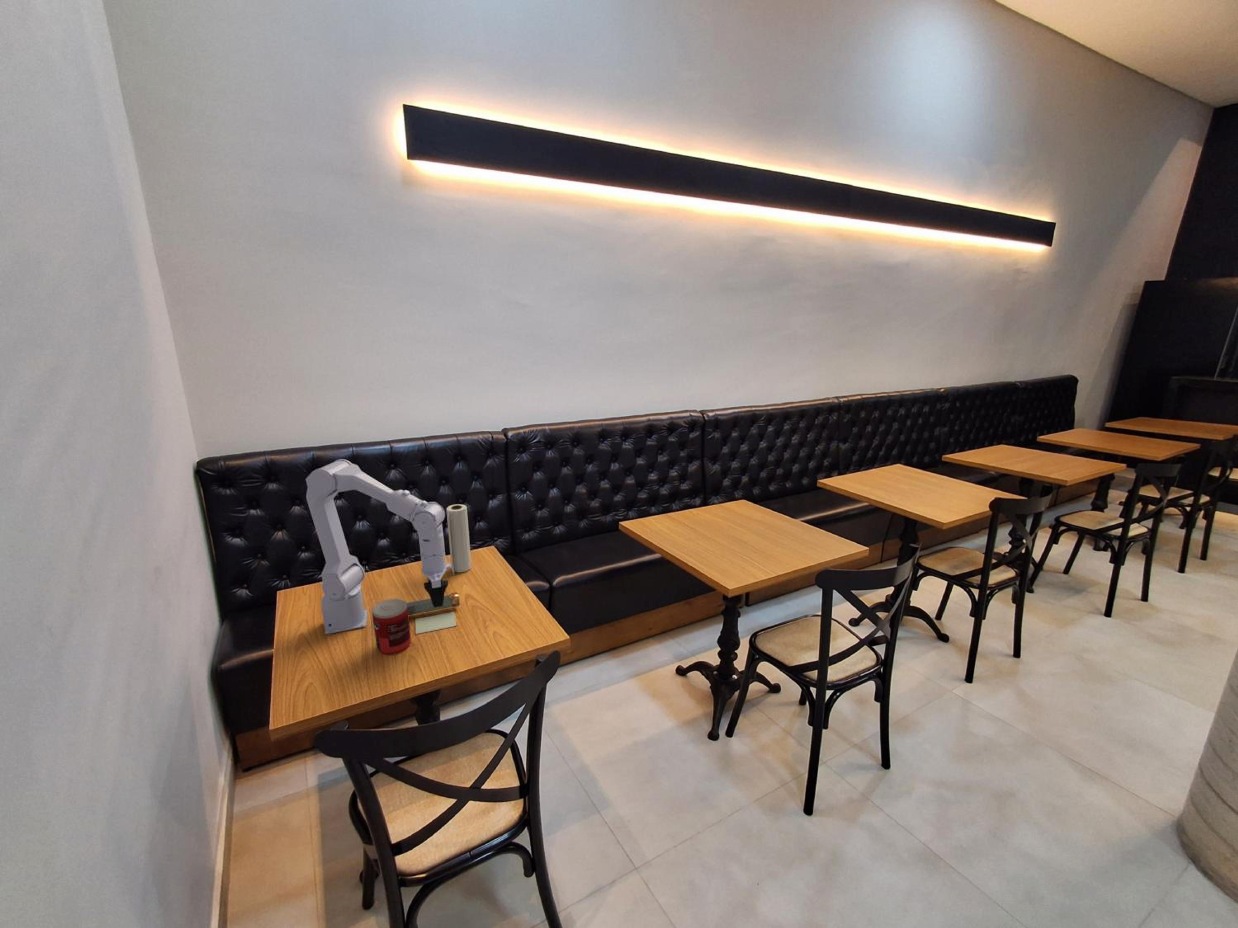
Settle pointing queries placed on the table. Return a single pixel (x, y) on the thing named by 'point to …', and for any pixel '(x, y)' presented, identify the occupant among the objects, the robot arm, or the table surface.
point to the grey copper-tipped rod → (427, 604)
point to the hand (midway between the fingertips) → (437, 599)
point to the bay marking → (435, 622)
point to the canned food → (391, 626)
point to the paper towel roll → (458, 538)
